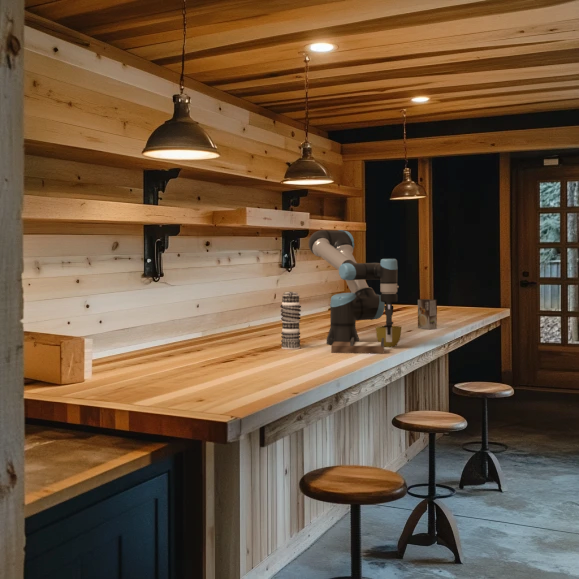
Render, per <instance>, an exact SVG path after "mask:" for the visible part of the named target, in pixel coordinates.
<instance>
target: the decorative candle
mask: <svg viewBox="0 0 579 579" xmlns="http://www.w3.org/2000/svg"><path fill="white" fill-rule="evenodd" d="M300 296H301V295H299V294H298V291H284V292H283V294H282V295H281V297H282V299H281V301H282V302H281V304H280V308H281V309H280V316H281V318H280V319H281V321H280V322H281V323H282V325H281V326H282V328H281V333H280V334H281V338H282V339H281V340H280V341H281V344H280V346H281V349H282V350H300V349H301V331H300V323H301V318H302V317H300V316H301V311H302V309H301V308H302V306H301V305H300V304H301V303H300Z"/></svg>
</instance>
